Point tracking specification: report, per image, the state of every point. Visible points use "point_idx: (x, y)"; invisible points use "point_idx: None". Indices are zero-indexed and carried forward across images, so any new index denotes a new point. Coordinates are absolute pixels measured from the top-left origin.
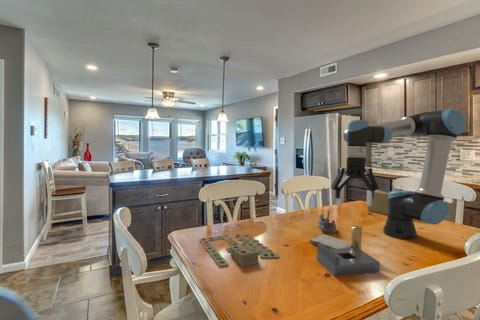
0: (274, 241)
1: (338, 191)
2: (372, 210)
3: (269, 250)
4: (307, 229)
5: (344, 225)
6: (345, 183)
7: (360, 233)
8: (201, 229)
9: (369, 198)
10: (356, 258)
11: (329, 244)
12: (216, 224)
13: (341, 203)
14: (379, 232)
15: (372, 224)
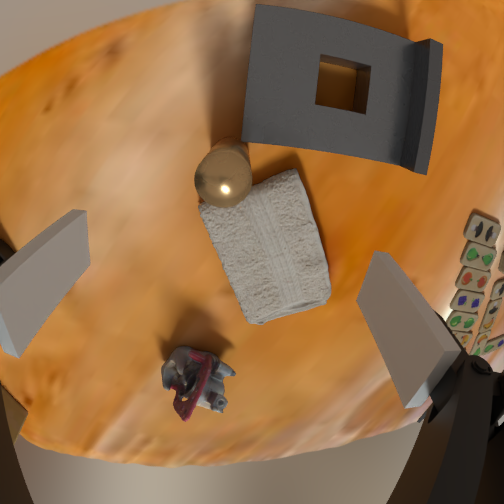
0: None
1: (460, 362)
2: (19, 407)
3: (467, 259)
4: (257, 381)
5: (118, 376)
6: (452, 460)
7: (219, 148)
8: None
9: (49, 255)
10: (323, 52)
11: (304, 229)
12: None
13: (387, 265)
14: None
15: (39, 354)
